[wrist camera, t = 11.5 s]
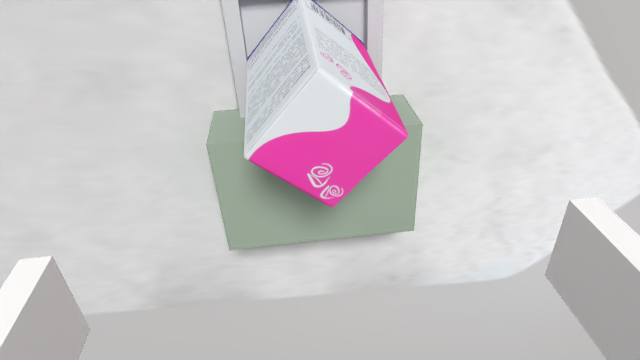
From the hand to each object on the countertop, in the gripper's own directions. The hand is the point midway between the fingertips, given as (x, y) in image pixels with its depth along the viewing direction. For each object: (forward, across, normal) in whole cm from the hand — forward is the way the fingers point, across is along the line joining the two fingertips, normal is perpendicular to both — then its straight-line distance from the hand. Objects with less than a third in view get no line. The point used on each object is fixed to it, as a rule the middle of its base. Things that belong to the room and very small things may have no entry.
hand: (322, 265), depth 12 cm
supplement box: (+21, +1, -1) cm, 21 cm away
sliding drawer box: (+22, +1, -5) cm, 22 cm away
